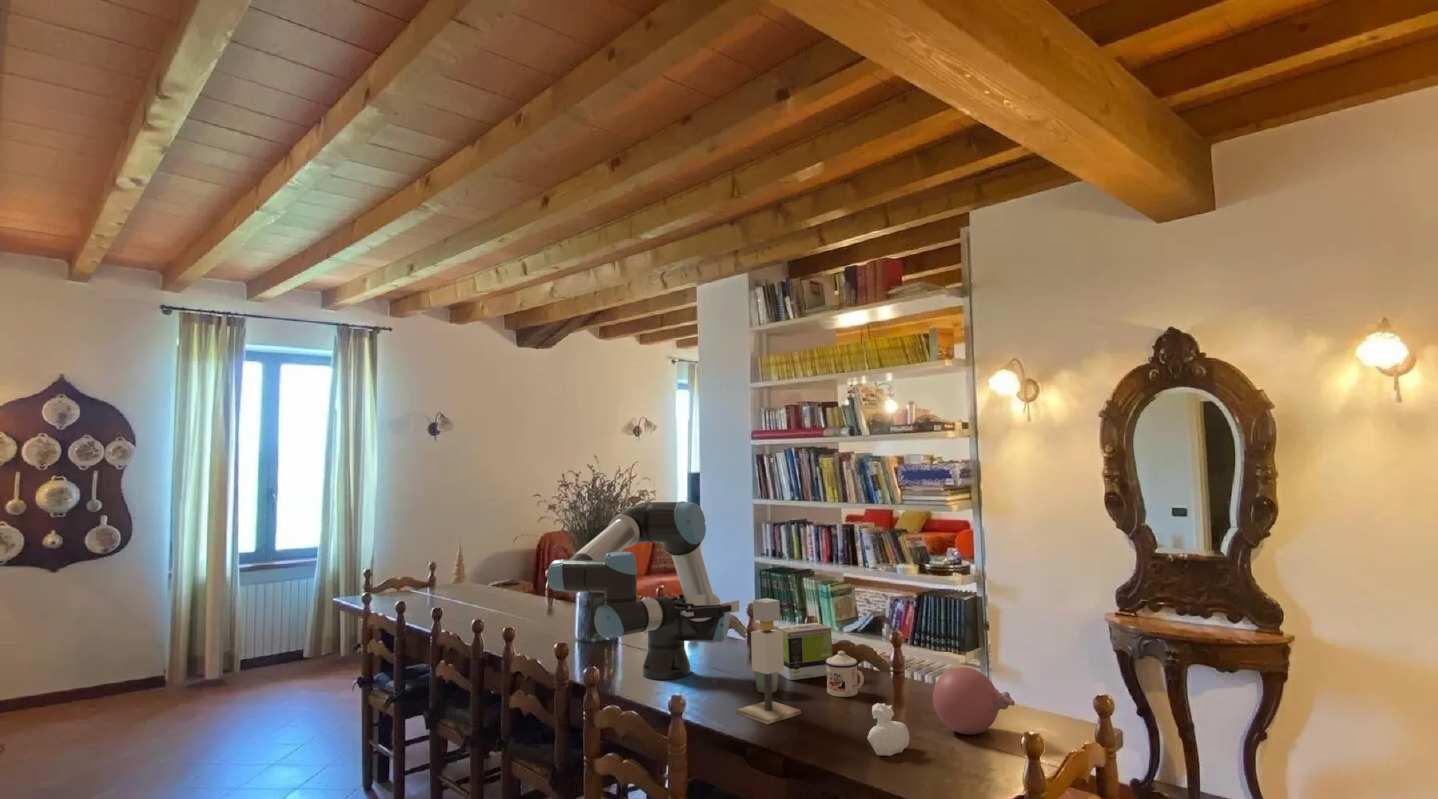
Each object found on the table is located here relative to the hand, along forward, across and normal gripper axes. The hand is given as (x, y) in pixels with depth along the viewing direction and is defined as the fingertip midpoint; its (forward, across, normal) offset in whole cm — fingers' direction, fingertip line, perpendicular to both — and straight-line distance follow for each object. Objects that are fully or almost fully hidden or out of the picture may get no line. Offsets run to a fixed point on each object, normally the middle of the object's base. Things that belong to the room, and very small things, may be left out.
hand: (721, 602), depth 206 cm
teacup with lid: (+40, +7, -30) cm, 51 cm away
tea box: (+46, -16, -30) cm, 58 cm away
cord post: (+12, +5, -30) cm, 32 cm away
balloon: (+37, +50, -30) cm, 69 cm away
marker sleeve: (+12, +5, -19) cm, 23 cm away
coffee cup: (+26, -11, -30) cm, 42 cm away
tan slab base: (+12, +5, -30) cm, 32 cm away
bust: (+14, +42, -30) cm, 54 cm away
